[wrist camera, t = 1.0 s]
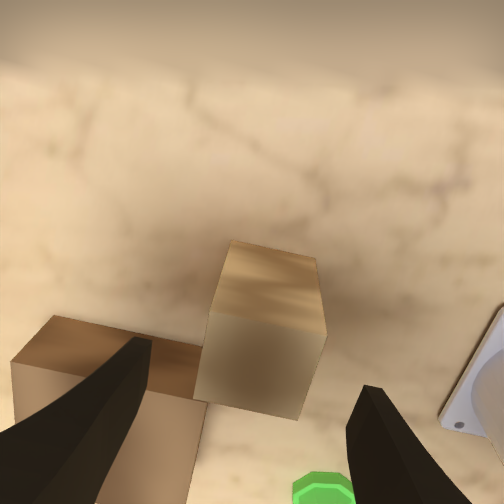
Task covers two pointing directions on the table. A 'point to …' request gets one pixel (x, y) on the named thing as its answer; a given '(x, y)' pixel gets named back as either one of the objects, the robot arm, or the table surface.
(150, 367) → the walnut block
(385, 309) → the table surface
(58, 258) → the table surface
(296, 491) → the game piece
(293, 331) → the maple block
